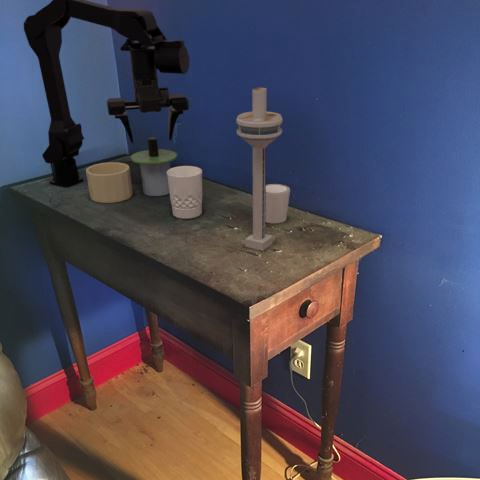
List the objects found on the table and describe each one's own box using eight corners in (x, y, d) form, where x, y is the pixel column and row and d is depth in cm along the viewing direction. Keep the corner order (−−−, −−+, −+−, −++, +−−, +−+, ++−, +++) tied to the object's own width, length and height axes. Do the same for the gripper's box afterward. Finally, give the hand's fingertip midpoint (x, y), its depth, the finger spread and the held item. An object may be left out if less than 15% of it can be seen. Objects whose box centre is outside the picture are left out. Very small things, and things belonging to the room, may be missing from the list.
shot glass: (287, 225, 124) (288, 194, 120) (256, 223, 125) (256, 192, 121) (291, 213, 129) (292, 184, 126) (261, 212, 131) (261, 182, 127)
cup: (137, 193, 143) (133, 161, 139) (155, 184, 148) (152, 154, 144) (160, 198, 140) (157, 166, 135) (177, 189, 145) (175, 158, 141)
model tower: (266, 257, 110) (268, 95, 94) (231, 248, 114) (226, 90, 98) (286, 241, 116) (291, 87, 100) (251, 233, 120) (251, 83, 104)
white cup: (206, 207, 133) (204, 166, 128) (201, 220, 127) (199, 177, 121) (174, 207, 134) (170, 165, 129) (167, 219, 127) (163, 176, 122)
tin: (91, 204, 136) (86, 176, 133) (90, 190, 145) (85, 164, 141) (134, 200, 138) (130, 172, 135) (130, 187, 147) (127, 160, 143)
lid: (133, 168, 134) (130, 146, 131) (129, 155, 143) (126, 134, 140) (180, 164, 136) (179, 142, 133) (173, 152, 145) (172, 131, 143)
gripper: (104, 80, 121) (114, 153, 129) (190, 75, 124) (194, 146, 133) (102, 72, 130) (111, 141, 138) (182, 68, 134) (187, 135, 142)
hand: (151, 141), depth 137 cm, fingers open, 9 cm apart
